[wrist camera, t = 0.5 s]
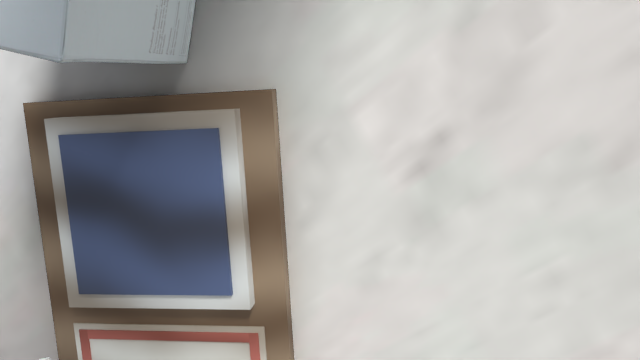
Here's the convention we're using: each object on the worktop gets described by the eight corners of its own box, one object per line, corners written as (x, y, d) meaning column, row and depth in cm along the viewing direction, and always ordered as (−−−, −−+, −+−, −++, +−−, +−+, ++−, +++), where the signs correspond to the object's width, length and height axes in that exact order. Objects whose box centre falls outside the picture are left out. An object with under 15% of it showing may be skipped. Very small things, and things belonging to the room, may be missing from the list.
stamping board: (33, 102, 37) (8, 104, 35) (275, 89, 34) (265, 89, 32) (86, 493, 42) (68, 517, 39) (304, 510, 39) (297, 536, 37)
